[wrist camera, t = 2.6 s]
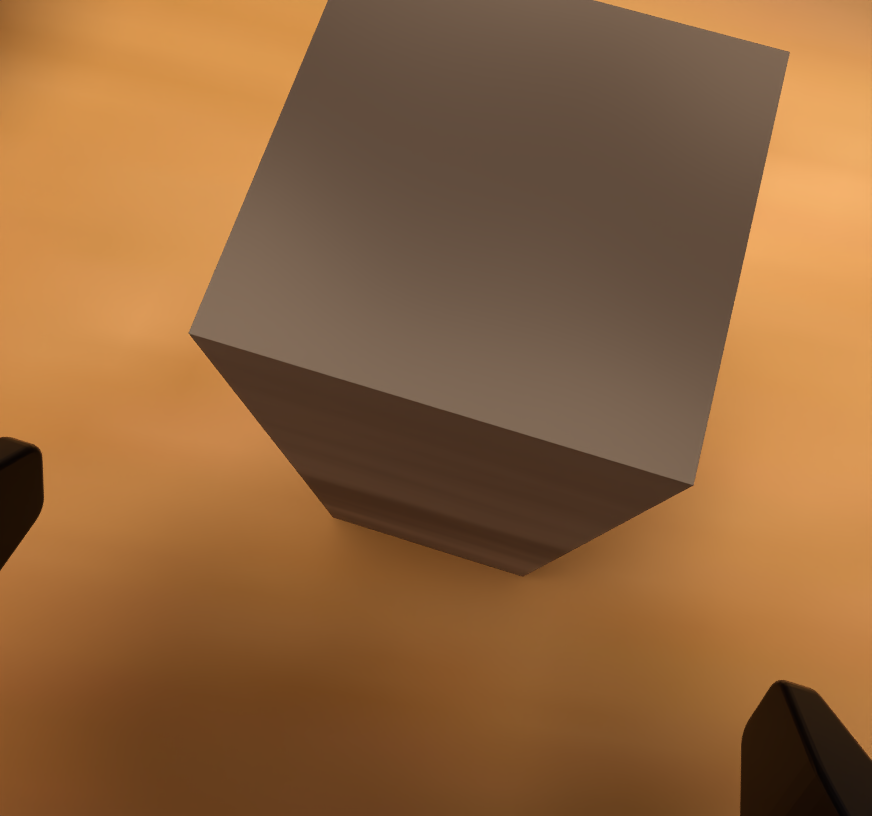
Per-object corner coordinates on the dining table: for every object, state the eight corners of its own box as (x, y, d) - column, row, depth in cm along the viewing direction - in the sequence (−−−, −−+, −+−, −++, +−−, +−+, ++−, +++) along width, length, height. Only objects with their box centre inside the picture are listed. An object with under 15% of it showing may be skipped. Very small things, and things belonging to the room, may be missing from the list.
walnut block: (523, 576, 20) (693, 484, 7) (333, 517, 20) (189, 333, 8) (572, 392, 21) (789, 52, 9) (393, 339, 22) (354, -63, 9)
